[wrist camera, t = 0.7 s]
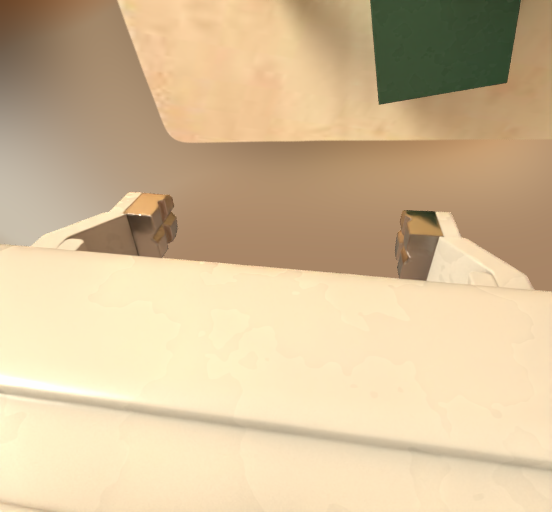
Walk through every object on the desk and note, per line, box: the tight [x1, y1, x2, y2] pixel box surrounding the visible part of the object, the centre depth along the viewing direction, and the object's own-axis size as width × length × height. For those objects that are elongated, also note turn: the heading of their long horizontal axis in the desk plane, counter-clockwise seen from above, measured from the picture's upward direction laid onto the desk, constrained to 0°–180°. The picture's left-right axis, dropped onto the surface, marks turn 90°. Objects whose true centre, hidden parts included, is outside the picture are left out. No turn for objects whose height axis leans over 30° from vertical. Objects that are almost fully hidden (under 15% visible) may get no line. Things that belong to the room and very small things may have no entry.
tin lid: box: [370, 0, 521, 104], centre depth 34 cm, size 18×13×5 cm
